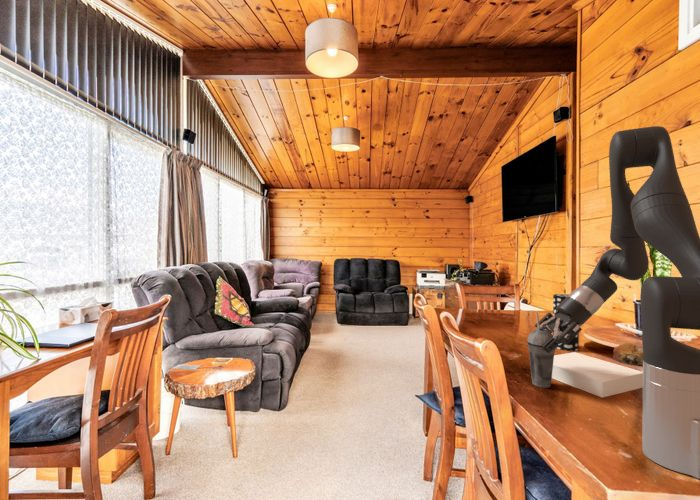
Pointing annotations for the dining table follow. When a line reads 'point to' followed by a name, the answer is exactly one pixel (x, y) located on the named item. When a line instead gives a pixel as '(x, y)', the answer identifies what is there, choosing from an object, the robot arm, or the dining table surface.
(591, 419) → the dining table surface
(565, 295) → the spotted tube
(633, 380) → the shelf board
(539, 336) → the beverage cup
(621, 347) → the bread roll
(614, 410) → the dining table surface
